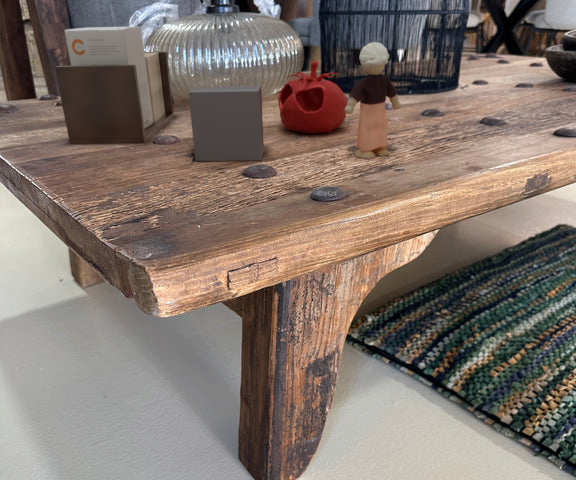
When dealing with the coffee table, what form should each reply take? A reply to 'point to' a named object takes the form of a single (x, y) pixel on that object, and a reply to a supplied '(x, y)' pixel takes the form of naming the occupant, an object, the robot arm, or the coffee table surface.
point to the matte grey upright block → (227, 123)
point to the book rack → (114, 101)
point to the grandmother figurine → (372, 102)
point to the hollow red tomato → (312, 103)
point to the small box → (112, 54)
